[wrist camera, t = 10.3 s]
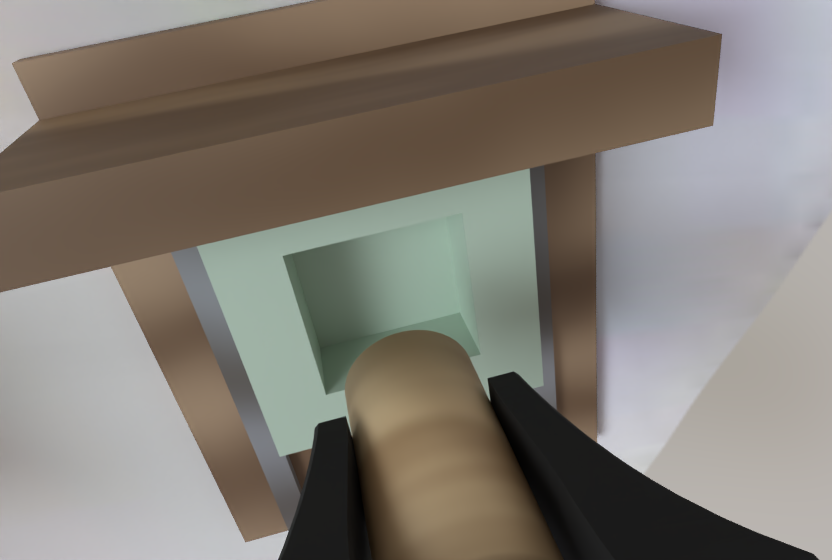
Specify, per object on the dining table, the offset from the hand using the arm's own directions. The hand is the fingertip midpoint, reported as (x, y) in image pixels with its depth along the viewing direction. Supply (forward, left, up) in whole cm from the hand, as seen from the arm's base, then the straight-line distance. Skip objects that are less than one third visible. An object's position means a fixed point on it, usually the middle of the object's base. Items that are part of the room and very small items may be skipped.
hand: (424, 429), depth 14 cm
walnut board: (-2, 0, -9) cm, 9 cm away
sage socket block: (0, 0, -8) cm, 8 cm away
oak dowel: (0, 0, -2) cm, 2 cm away
